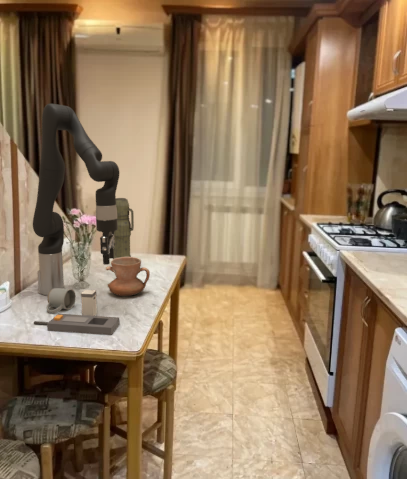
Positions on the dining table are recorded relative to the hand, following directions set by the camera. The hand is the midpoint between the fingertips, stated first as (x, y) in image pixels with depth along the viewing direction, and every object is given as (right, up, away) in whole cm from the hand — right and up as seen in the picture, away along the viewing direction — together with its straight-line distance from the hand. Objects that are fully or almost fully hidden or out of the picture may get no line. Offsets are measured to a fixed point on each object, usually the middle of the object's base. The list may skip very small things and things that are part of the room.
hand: (108, 261), depth 170 cm
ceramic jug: (+3, -15, +23) cm, 27 cm away
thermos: (-5, -7, +55) cm, 56 cm away
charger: (-7, -20, -2) cm, 21 cm away
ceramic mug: (-19, -18, +4) cm, 27 cm away
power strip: (-9, -22, -12) cm, 26 cm away
